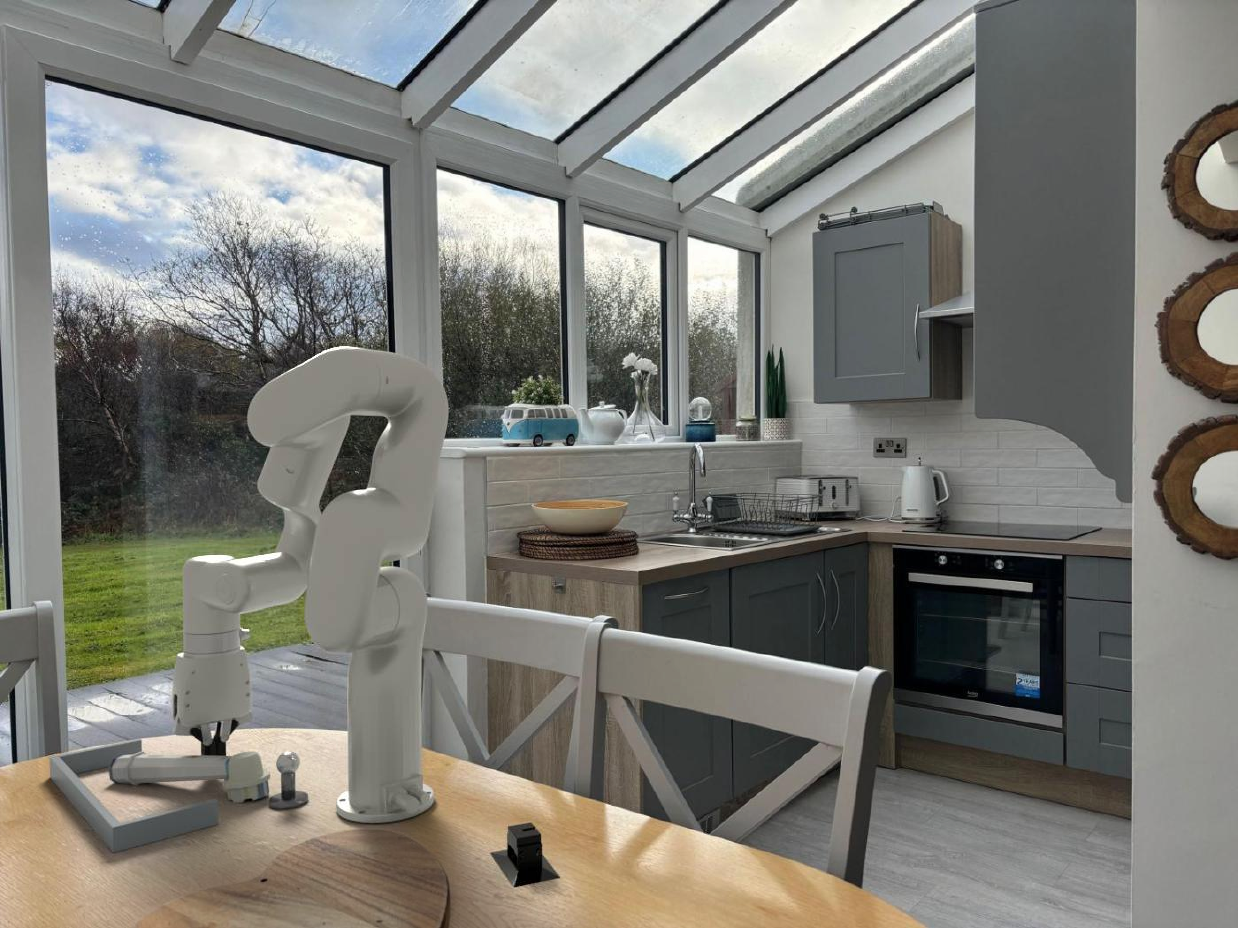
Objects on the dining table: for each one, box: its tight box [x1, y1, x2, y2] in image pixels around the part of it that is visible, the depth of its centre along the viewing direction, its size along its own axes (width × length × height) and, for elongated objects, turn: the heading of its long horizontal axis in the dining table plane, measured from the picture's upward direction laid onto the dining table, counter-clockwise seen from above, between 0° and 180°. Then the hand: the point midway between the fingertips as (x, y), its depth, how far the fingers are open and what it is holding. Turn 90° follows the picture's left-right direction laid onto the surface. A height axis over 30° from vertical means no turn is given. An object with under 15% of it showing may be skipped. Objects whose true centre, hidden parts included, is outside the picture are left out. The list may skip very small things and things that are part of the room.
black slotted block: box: [489, 822, 561, 888], centre depth 105 cm, size 12×7×5 cm, turn 23°
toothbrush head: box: [108, 750, 271, 804], centre depth 129 cm, size 5×7×25 cm
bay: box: [49, 738, 219, 854], centre depth 125 cm, size 34×12×3 cm, turn 42°
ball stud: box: [268, 750, 309, 810], centre depth 124 cm, size 5×5×7 cm
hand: (213, 768), depth 133 cm, fingers closed
